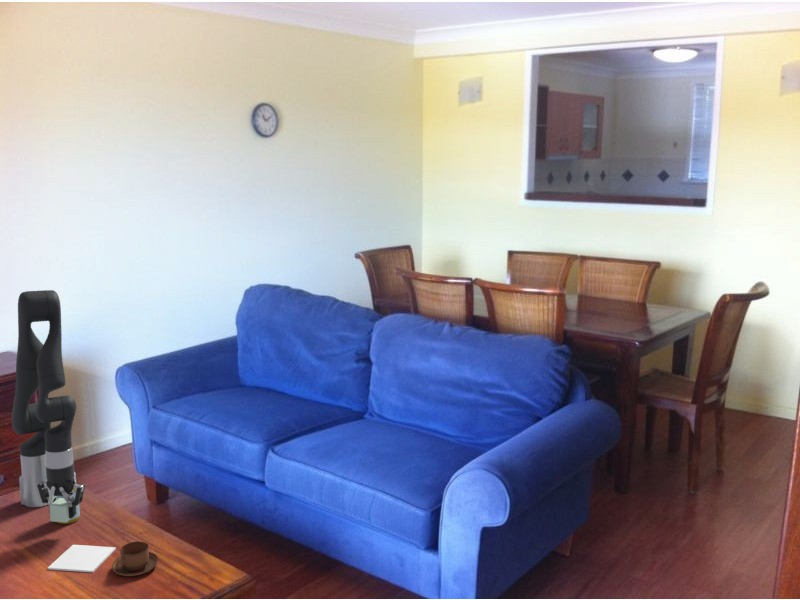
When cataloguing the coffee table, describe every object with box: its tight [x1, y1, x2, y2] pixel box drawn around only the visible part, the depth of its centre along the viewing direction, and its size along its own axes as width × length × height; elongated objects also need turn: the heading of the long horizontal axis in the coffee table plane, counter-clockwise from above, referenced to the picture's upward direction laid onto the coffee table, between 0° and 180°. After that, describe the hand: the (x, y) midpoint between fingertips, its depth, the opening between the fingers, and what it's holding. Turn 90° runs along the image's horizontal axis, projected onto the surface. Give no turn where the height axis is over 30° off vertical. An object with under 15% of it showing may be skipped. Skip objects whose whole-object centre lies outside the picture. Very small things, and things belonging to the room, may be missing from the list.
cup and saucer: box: [111, 541, 159, 577], centre depth 207 cm, size 12×12×6 cm
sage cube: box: [48, 498, 71, 523], centre depth 224 cm, size 5×5×5 cm
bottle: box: [56, 471, 81, 525], centre depth 234 cm, size 7×7×15 cm
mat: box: [47, 544, 117, 574], centre depth 212 cm, size 13×13×1 cm
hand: (63, 516), depth 224 cm, fingers closed on sage cube, 5 cm apart
